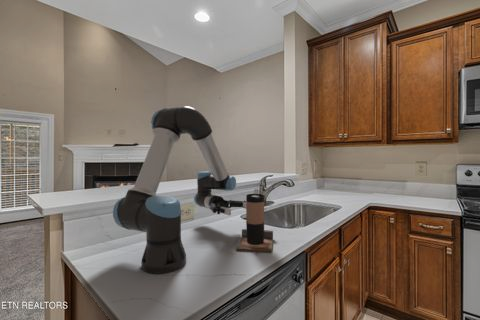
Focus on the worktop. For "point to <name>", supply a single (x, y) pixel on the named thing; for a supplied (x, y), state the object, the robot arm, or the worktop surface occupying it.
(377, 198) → the worktop surface
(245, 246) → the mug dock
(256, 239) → the travel mug
